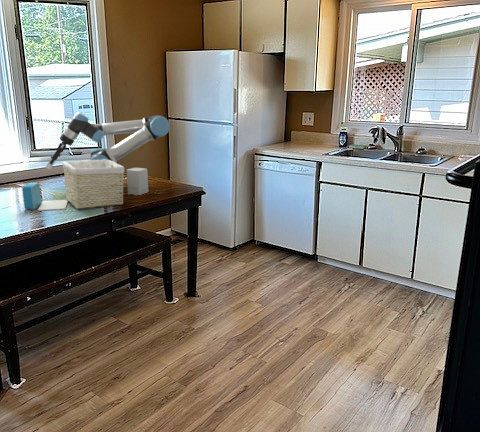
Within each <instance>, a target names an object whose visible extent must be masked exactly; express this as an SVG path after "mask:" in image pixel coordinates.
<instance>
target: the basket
mask: <svg viewBox="0 0 480 432" xmlns="http://www.w3.org/2000/svg"><path fill="white" fill-rule="evenodd" d="M62 167H63V173H64V182H65V183H64V186H65V195H66V197H65V200H68V202H69V203H70V204H72V206H73V207H75V208H76V209H86V208H91V209H92V208H96V207H107V206H108V207H110V206H116V205H117V206H119V205H123V204H124V173H125V167H124V166H123V165H121V164H119V163H118V162H117V163H115V162H114V161H111V160H107V159H102V160H90V159H88V160H76V161H74V160H73V161H62Z"/></svg>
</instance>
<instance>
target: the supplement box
mask: <svg viewBox="0 0 480 432" xmlns="http://www.w3.org/2000/svg"><path fill="white" fill-rule="evenodd" d="M148 174H149V173H148V168H145V167H144V168H143V167H131V168H128V169H126V183H127V186H126V187H127V195H130V194H134V195H133V196H137V195H141V194H144V193H147V192H149V175H148ZM147 194H148V193H147ZM144 195H145V194H144ZM141 196H142V195H141Z"/></svg>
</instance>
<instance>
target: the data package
mask: <svg viewBox="0 0 480 432" xmlns="http://www.w3.org/2000/svg"><path fill="white" fill-rule="evenodd" d="M40 185H41V184H40V183H39V182H29V183H27V184H25V185H23V186H22V189H21V190H22V191H21V192H22V196H23V197H22V198H23V205H24V209H25V210H35V209H37V208H39V207H40V205H41V204H42V195H41V187H40Z"/></svg>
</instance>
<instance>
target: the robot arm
mask: <svg viewBox="0 0 480 432" xmlns="http://www.w3.org/2000/svg"><path fill="white" fill-rule="evenodd" d="M170 125H171V124H170V123H169V120H168V119H167V118H166V117H165V116H162V115H160V114H156V115H151V116H146V117H143V118H142V119H134V120H132V119H131V120H125V121H114V122H113V121H112V122H106V123H105V122H104V123H93V124H92V123H90V122H89V117H88V116H86V115H85V114H83V113H82V112H79V111H78V112H76V113H75V115H74V116H73V117H72V118H71V120H70V121H69V123H68V125H67V126H66V127H64V131H63V133H62V134H61V135H60V136H59V140H60V141H62V142H60V143H59V144H58V146H57V148H56V150H55V153H54V154H53V155H51V156H50V159H49V161H48V162H47V163H46V165H45V168H46V169H47V170H51V169H52V167H53V166H54V165H55V163H56V162H57V160H58V159H59V157H61V156H62V155H61V153H63V152H64V151H65V150H66V148H67V146H72V145H73V143H74V142H75V140H76V139H77V138H78V136H79V135H80V133H82V134H83V135H84V136H85V137H87V138H88V139H90V140H92V141H93V142H95V143H97V144H99V143H100V142H101V141H102V139H103V137H106V136H114V135H124V134H130V135H129V136H127V137H126V138H124V139H122V140H121V141H120V142H118V143H116V144H115V145H113V146H111V147H110V148H106V147H104V148H96V149H93V148H92V149H90V152H89V155H90V159H89V160H102V159H107V160H111V161H114V162H115V163H117V164H118V161H119V160H121V159H122V158H124V157H126V156H127V155H130V153H132V152H134V151H135V150H137V149H138V148H141V146H143V145H145V144H147V143H148V142H149V141H156V140H157V139H159V138H161V137H166V135H167V134H169V131H170V127H171V126H170Z"/></svg>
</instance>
